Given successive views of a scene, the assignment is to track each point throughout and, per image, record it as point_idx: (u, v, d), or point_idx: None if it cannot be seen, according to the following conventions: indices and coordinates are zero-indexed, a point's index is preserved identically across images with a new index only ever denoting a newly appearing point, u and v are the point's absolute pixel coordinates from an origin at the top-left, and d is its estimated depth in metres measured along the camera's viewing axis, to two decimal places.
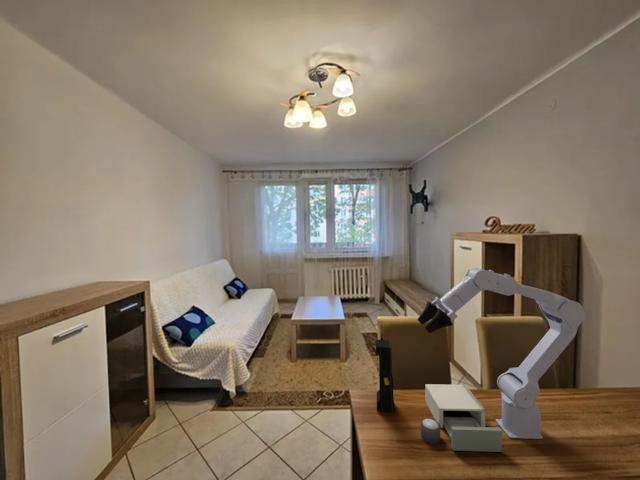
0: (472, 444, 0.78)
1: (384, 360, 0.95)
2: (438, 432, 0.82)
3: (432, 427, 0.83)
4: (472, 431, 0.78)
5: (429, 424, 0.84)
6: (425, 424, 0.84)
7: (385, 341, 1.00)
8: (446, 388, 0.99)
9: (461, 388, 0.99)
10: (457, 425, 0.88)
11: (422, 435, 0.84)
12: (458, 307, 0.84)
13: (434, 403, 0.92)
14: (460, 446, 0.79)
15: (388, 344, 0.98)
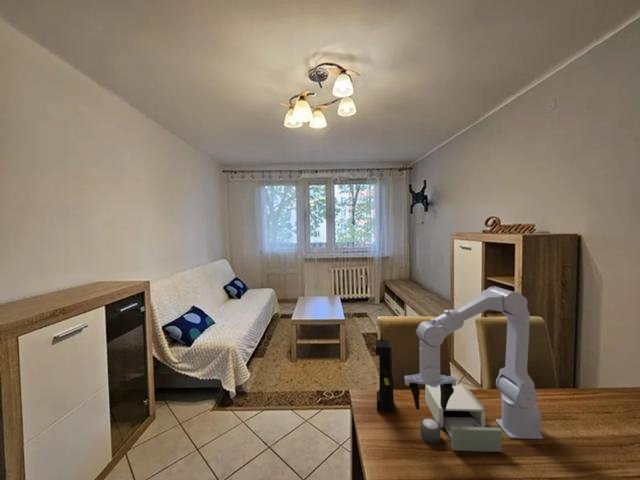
0: (472, 444, 0.78)
1: (384, 360, 0.95)
2: (438, 432, 0.82)
3: (432, 427, 0.83)
4: (472, 431, 0.78)
5: (429, 423, 0.84)
6: (425, 423, 0.84)
7: (385, 341, 1.00)
8: None
9: (461, 388, 0.99)
10: (457, 425, 0.88)
11: (422, 435, 0.84)
12: None
13: (434, 403, 0.92)
14: (460, 446, 0.79)
15: (388, 344, 0.98)
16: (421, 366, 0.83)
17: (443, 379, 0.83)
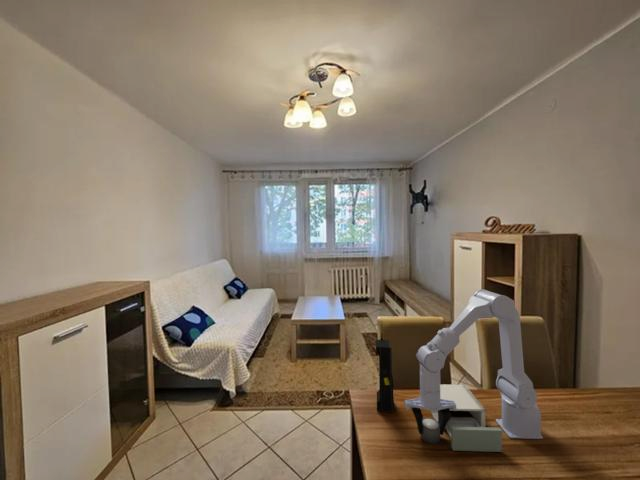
0: (472, 444, 0.78)
1: (384, 360, 0.95)
2: (438, 432, 0.82)
3: (432, 427, 0.83)
4: (472, 431, 0.78)
5: (429, 423, 0.84)
6: (425, 423, 0.84)
7: (385, 341, 1.00)
8: (446, 388, 0.99)
9: (461, 388, 0.99)
10: (457, 425, 0.88)
11: (422, 435, 0.84)
12: None
13: None
14: (460, 446, 0.79)
15: (388, 344, 0.98)
16: (421, 391, 0.83)
17: (443, 404, 0.84)
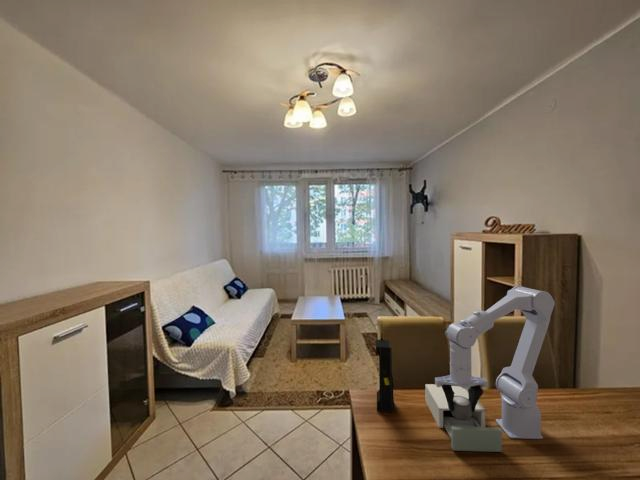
0: (472, 444, 0.78)
1: (384, 360, 0.95)
2: (470, 408, 0.82)
3: (463, 404, 0.82)
4: (472, 431, 0.78)
5: (460, 401, 0.84)
6: (456, 401, 0.84)
7: (385, 341, 1.00)
8: None
9: (461, 388, 0.99)
10: (457, 425, 0.88)
11: (453, 412, 0.83)
12: None
13: (434, 403, 0.92)
14: (460, 446, 0.79)
15: (388, 344, 0.98)
16: (452, 368, 0.83)
17: (474, 381, 0.83)
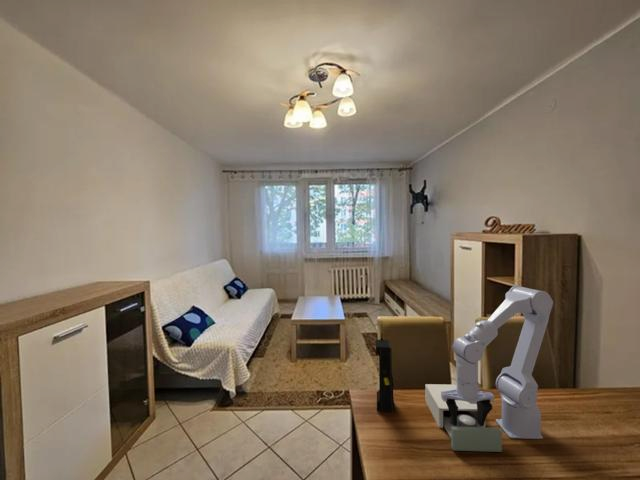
0: (472, 444, 0.78)
1: (384, 360, 0.95)
2: None
3: (470, 423, 0.82)
4: (472, 431, 0.78)
5: (466, 420, 0.84)
6: (462, 420, 0.84)
7: (385, 341, 1.00)
8: (446, 388, 0.99)
9: None
10: None
11: None
12: None
13: (434, 403, 0.92)
14: (460, 446, 0.79)
15: (388, 344, 0.98)
16: (459, 382, 0.83)
17: (480, 395, 0.83)
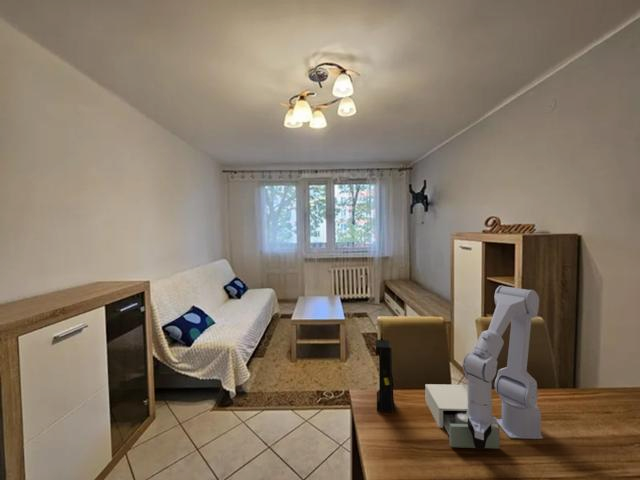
0: (470, 441, 0.80)
1: (384, 360, 0.95)
2: None
3: None
4: None
5: (464, 417, 0.85)
6: (460, 417, 0.85)
7: (385, 341, 1.00)
8: (446, 388, 0.99)
9: (461, 388, 0.99)
10: None
11: None
12: None
13: (434, 403, 0.92)
14: (459, 443, 0.80)
15: (388, 344, 0.98)
16: (482, 407, 0.74)
17: None
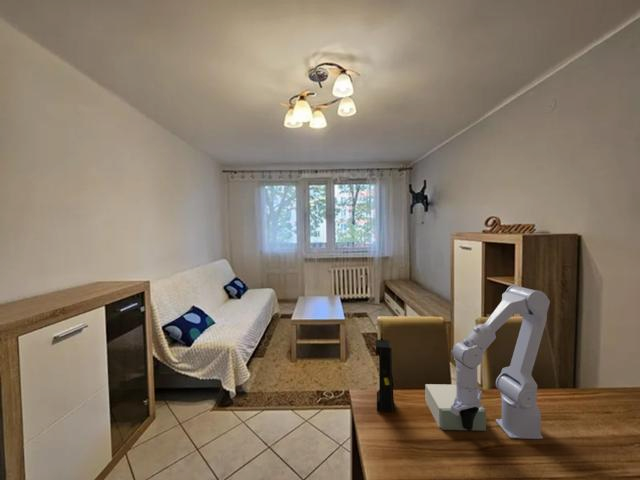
0: (459, 424, 0.87)
1: (384, 360, 0.95)
2: None
3: None
4: None
5: None
6: None
7: (385, 341, 1.00)
8: (446, 388, 0.99)
9: None
10: None
11: None
12: None
13: (434, 403, 0.92)
14: (449, 426, 0.87)
15: (388, 344, 0.98)
16: (465, 390, 0.82)
17: None
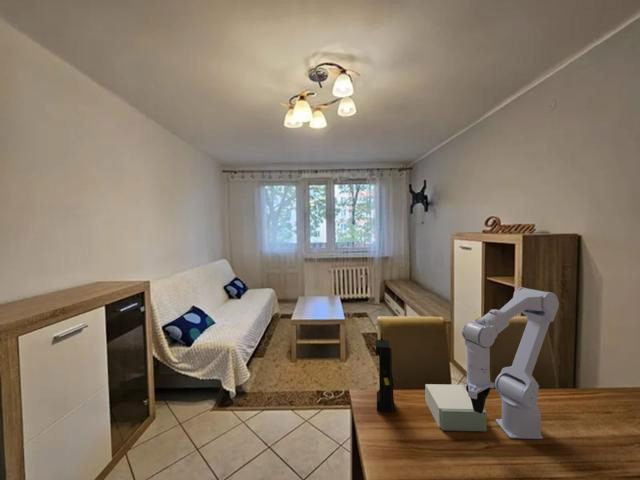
0: (460, 424, 0.86)
1: (384, 360, 0.95)
2: None
3: None
4: (460, 412, 0.86)
5: None
6: None
7: (385, 341, 1.00)
8: (446, 388, 0.99)
9: (461, 388, 0.99)
10: None
11: None
12: None
13: (434, 403, 0.92)
14: (449, 427, 0.87)
15: (388, 344, 0.98)
16: (479, 371, 0.78)
17: None
